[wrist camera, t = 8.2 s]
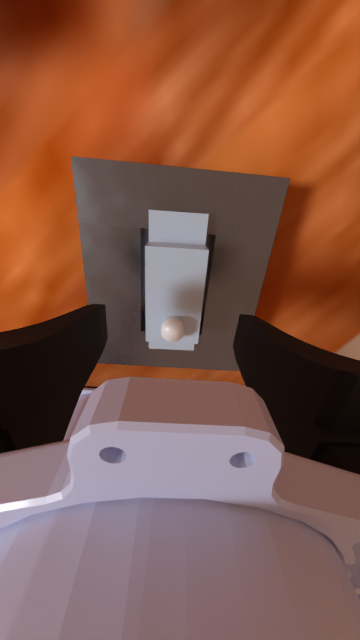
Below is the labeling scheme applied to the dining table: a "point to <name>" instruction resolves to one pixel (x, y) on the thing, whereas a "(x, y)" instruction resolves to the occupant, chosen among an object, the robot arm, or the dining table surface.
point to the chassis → (133, 234)
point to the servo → (175, 278)
